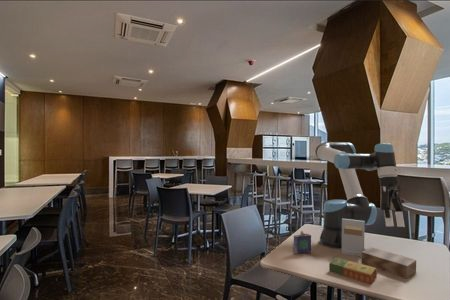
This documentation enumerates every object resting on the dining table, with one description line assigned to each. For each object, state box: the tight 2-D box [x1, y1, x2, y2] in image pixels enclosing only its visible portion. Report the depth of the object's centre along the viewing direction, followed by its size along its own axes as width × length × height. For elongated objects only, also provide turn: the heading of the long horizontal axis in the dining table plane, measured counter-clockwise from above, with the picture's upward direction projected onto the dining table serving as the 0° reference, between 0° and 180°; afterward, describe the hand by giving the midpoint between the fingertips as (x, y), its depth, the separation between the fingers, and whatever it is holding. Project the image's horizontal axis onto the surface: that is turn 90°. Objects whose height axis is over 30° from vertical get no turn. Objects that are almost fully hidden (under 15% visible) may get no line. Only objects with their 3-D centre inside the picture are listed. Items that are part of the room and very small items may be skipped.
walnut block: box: [360, 247, 417, 279], centre depth 118 cm, size 18×10×5 cm, turn 38°
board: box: [340, 219, 366, 258], centre depth 133 cm, size 5×10×16 cm, turn 64°
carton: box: [328, 257, 378, 285], centre depth 111 cm, size 8×16×4 cm, turn 48°
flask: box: [292, 230, 312, 256], centre depth 133 cm, size 9×3×11 cm, turn 105°
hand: (395, 226), depth 116 cm, fingers open, 13 cm apart
